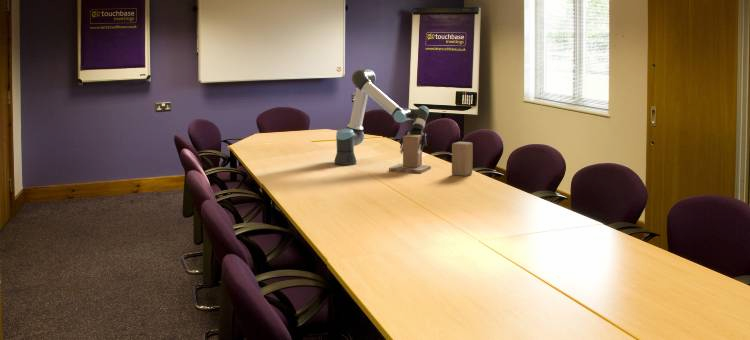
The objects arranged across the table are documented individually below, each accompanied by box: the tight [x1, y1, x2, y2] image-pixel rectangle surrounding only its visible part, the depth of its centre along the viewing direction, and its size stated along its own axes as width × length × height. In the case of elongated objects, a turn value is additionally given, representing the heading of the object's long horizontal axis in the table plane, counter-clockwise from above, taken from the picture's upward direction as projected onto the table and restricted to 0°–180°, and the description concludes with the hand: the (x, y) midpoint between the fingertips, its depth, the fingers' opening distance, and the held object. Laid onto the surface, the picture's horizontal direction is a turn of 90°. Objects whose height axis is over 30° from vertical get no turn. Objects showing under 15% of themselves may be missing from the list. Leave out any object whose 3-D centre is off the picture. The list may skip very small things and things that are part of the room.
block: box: [451, 141, 474, 177], centre depth 436 cm, size 10×10×20 cm
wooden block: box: [402, 134, 423, 168], centre depth 456 cm, size 10×10×20 cm
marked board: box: [388, 163, 432, 174], centre depth 455 cm, size 22×18×2 cm
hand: (409, 153), depth 453 cm, fingers open, 11 cm apart
